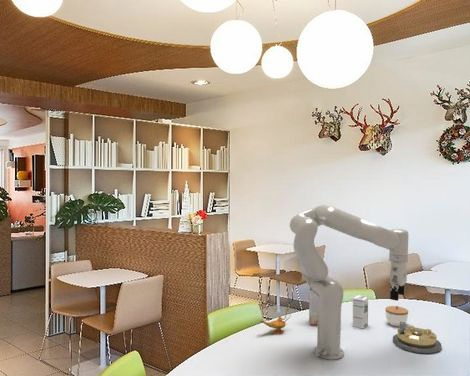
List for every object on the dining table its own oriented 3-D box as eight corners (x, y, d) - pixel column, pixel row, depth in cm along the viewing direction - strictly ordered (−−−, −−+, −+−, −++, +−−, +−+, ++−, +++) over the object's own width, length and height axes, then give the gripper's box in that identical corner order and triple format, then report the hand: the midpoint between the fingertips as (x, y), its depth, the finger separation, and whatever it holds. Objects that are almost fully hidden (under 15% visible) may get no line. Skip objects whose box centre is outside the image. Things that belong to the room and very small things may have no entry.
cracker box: (336, 322, 222) (337, 281, 221) (338, 326, 216) (339, 284, 215) (308, 321, 224) (309, 280, 223) (309, 325, 218) (310, 283, 217)
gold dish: (432, 351, 184) (432, 332, 184) (393, 342, 194) (393, 324, 193) (439, 339, 197) (440, 321, 197) (402, 331, 207) (403, 314, 206)
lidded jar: (409, 329, 214) (410, 310, 213) (386, 327, 216) (387, 308, 215) (405, 321, 224) (406, 303, 224) (383, 320, 226) (384, 302, 226)
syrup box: (363, 329, 213) (364, 299, 213) (352, 326, 217) (352, 297, 216) (367, 325, 218) (368, 297, 217) (356, 323, 221) (357, 294, 221)
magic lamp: (255, 333, 206) (255, 310, 206) (285, 326, 216) (286, 304, 215) (264, 338, 201) (264, 314, 200) (294, 331, 210) (295, 308, 209)
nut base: (436, 358, 182) (436, 354, 182) (387, 346, 193) (387, 342, 193) (445, 342, 198) (445, 338, 198) (399, 332, 210) (399, 329, 209)
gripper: (402, 262, 180) (401, 303, 181) (412, 255, 195) (411, 293, 196) (383, 260, 185) (382, 300, 186) (394, 253, 199) (393, 291, 200)
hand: (397, 297), depth 191 cm, fingers open, 9 cm apart
